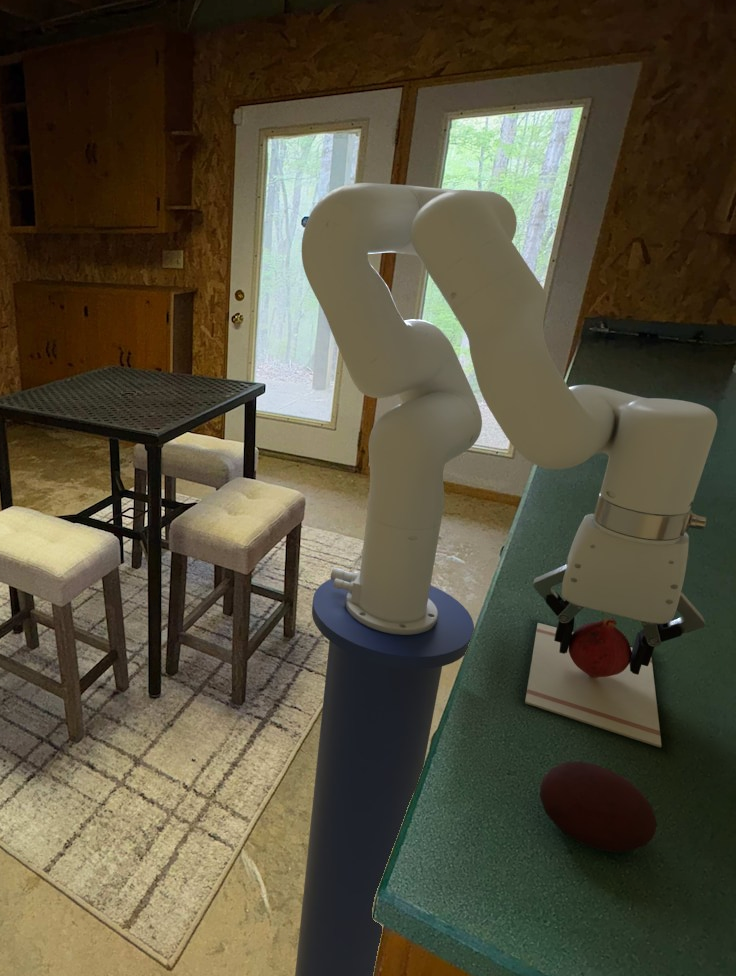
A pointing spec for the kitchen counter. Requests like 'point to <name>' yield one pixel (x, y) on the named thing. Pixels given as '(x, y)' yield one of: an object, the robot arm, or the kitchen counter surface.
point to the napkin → (592, 692)
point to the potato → (597, 807)
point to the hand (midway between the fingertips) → (597, 655)
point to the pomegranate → (600, 649)
